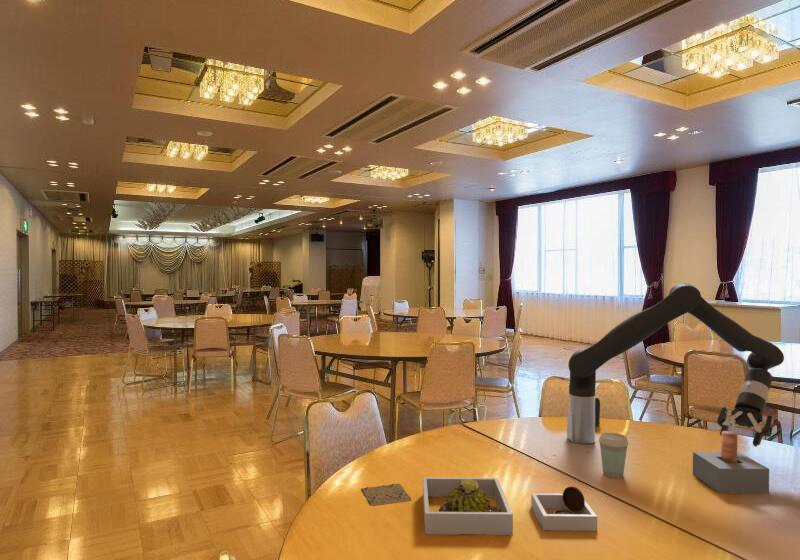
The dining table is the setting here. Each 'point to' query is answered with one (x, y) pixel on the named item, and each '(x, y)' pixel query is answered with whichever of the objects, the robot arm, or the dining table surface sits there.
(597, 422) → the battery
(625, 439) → the coffee cup
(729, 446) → the pin
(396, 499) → the speckled stone tile
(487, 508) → the cactus
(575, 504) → the dark brown rounded piece
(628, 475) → the dining table surface
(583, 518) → the tray
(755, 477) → the hole block
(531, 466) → the dining table surface
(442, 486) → the cactus tray
